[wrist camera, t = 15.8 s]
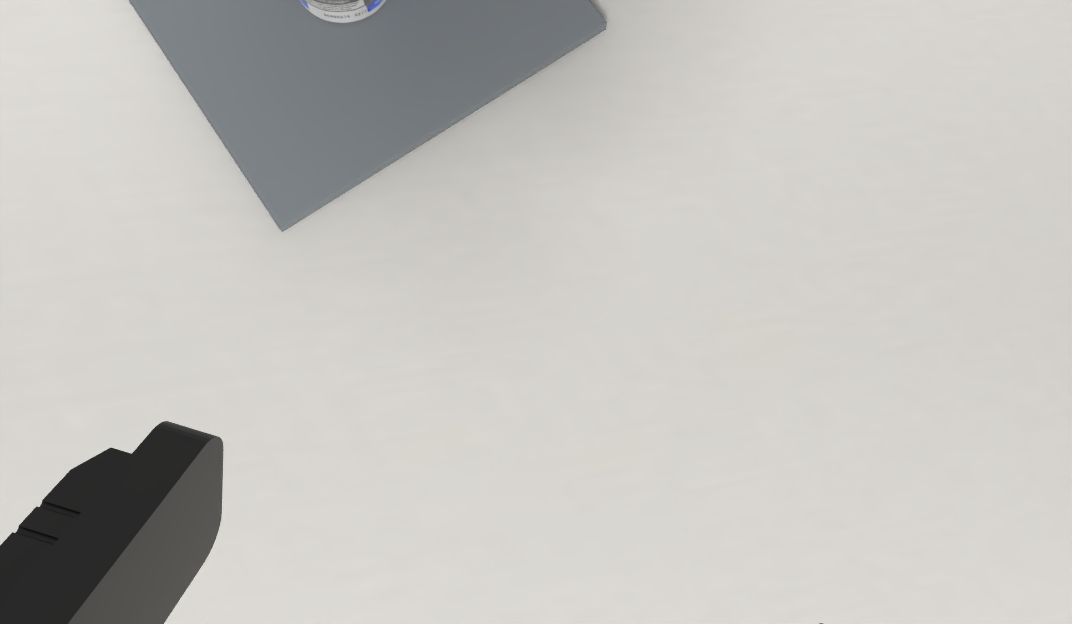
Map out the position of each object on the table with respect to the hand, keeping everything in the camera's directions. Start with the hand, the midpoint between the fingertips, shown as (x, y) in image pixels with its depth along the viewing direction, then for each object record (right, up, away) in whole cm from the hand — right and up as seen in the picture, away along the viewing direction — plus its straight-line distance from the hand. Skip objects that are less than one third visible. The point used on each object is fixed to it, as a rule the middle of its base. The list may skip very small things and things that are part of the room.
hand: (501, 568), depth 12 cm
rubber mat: (-9, +19, +32) cm, 38 cm away
